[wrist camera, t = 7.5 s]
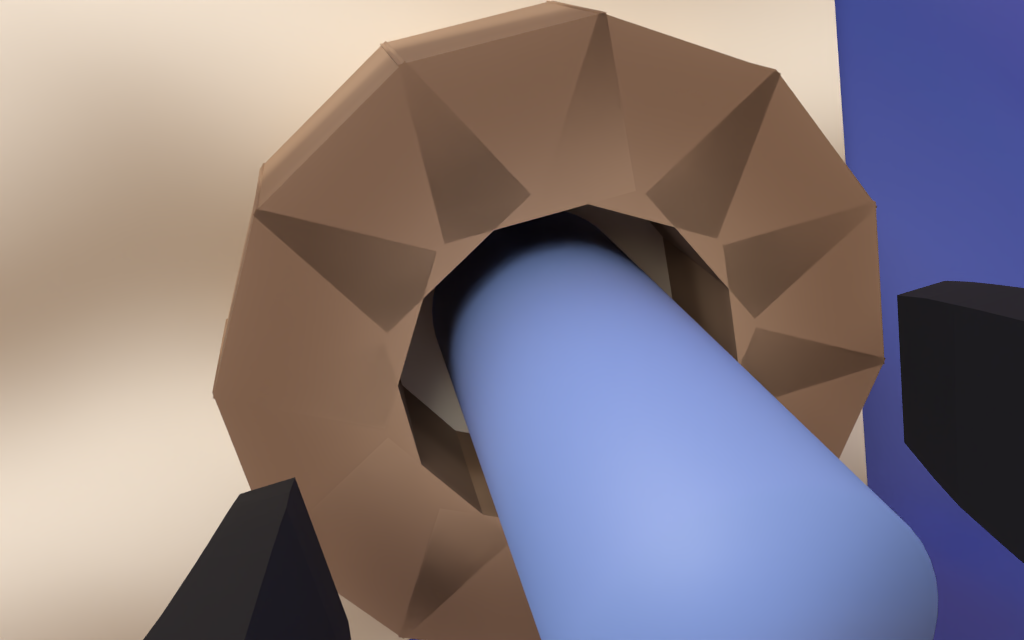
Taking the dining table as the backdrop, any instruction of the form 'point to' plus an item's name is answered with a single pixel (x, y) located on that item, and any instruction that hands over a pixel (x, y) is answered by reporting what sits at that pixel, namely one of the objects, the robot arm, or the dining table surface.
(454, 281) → the peg
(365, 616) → the board
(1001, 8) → the dining table surface
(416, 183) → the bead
